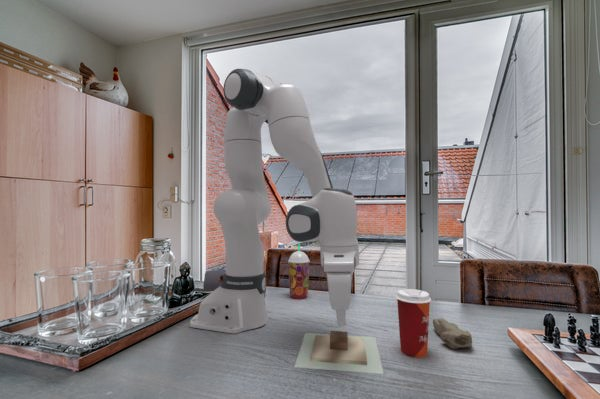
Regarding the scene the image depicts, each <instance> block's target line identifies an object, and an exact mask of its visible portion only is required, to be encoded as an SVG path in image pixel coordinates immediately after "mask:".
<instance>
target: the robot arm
mask: <svg viewBox="0 0 600 399" xmlns="http://www.w3.org/2000/svg"><path fill="white" fill-rule="evenodd" d="M222 88H223V96H224V99H225V101H226V103H227V104H228V105H230V106H231V107H232V108H231V109H229V110H228V112H227V113H226V116H225V122H224V131H223V134H224V135H223V142H224V144H223V146H224V148H223V149H224V170H225V172H226V174H227V175H228V178H229V181H230V184H231V188H230V189H228V190H227V189H226V190H224V191H222V192H221V193H219V194H218V195H217V197H216V198H215V200H214V203H213V214H214V217H215V218H216V219H217V221H218V222H219V225H220V226H221V231H222V235H223V239H224V245H225V246H224V247H225V270H226V272H224V273H223V275H221V276H220V277H219V278H218V279H219V280H218V281H217V282H219V281H220V286H219V287H218V288H217V289H215V290H214V291H213V292H212V293H210V294H207V296H205V297H204V298H203V299H202V301H201V302H200V304H199V308H198V313H197V314H195V315H194V316H193V317H192V318H191V319H190V321H189V327H190V328H196V329H202V330H207V331H215V332H220V333H225V334H226V333H227V334H239V333H242V332H245V331H249V330H252V329H258V328H260V327H263V326H265V325H266V324H268V322H269V320H270V318H269V316H268V311H267V306H266V299H265V293H264V292H265V273H264V271H265V268H264V261H265V260H264V256H265V255H264V253H265V252H264V249H265V247H264V244H263V241H262V240H261V235H260V230H259V225H260V224H261V223H263V222H264V221H266V220H267V218H268V217H269V216H270V214H271V212H272V204H271V201H270V199H269V195H268V189H267V184H266V180H265V175H264V169H263V168H264V167H263V148H262V147H263V146H262V126H263V124H264V123H266V124H267V126H268V132H269V138H270V141H271V144H272V146H273V149H274V151H275V152H276V154H277V155H279V156H280V157H281V158H282V159H284V160H285V161H287V162H288V163H290V164H292V165H293V166H295V167H297V168H298V169H299V170H300V171H301V172H302V174H303V175H304V176H305V178H306V181H307V183H308V187H309V190H310V193H311V197H312V198H310V199H307V201H306V200H305V201H304V202H300V203H299V204H296V205H293V206H292V207H291V208H289V209H288V212H287V214H286V217H285V228H286V231H287V233H288V235H289V237H290V238H291V239H292V240H293V241H295V242H299V243H311V242H319V243H320V244H319V245H320V246H319V249H320V265H321V266H322V268H323V272H325V273H326V283H327V289H328V290H327V291H328V296H329V302H330V307H331V309H332V310H333V311H335V314H336V325H337V326H338V327H346V324H347V323H346V320H347V319H346V317H347V316H346V315H347V314H346V313H347V311H349V309H350V305H351V294H352V280H353V274H354V272H355V270H356V268H357V266H359V265H360V255H359V254H360V252H359V249H360V248H359V241H358V240H359V239H358V238H357V230H358V225H359V224H358V213H357V212H358V211H357V205H356V204H357V202H356V198H355V196H354V194H353V192H351V191H350V190H347V189H344V188H343V189H342V188H334V186H333V184H332V180H331V178H330V174H329V170H328V168H327V165H326V162H325V159H324V156H323V154H322V153H321V150H320V148H319V146H318V144H317V141H316V139H315V135H314V132H313V128H312V124H311V120H310V116H309V112H308V111H309V110H308V108H307V104H306V102H305V100H304V97H303V95H302V92H301V90H300V89H299V88H298V87H297V86H296V85H294V84H291V83H281V82H279V81H277V80H275V79H273V78H272V77H269V76H268V75H263V74H260V73H257V72H253V71H251V70H249V69H246V68H235V69H233V70H232V71H230V72H229V74H228V75H226V78H225V80H224V83H223V87H222Z"/></svg>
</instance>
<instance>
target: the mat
mask: <svg viewBox="0 0 600 399" xmlns="http://www.w3.org/2000/svg"><path fill="white" fill-rule="evenodd" d="M315 335H322V336H330V334H327V333H313V332H312V333H311V332H309V333H308V332H305V333H304V336H303V339H302V341H301V346H300V347H299V352H298V354H297V356H296V360H295V363H294V368H296V369H297V368H300V369H312V370H326V371H340V372H352V373H366V374H378V375H384V371H383V370H384V369H383V365H382V362H381V357H380V352H379V347H378V343H377V339H376V337H375V336H361V335H348V337H355V338H364V343H365V350H366V357H367V365H357V364H343V363H329V362H316V361H310V356H311V352H312V348H313V344H314V340H315Z"/></svg>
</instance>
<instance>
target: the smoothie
mask: <svg viewBox="0 0 600 399" xmlns="http://www.w3.org/2000/svg"><path fill="white" fill-rule="evenodd" d="M300 248H301V244H300V243H298V244H297V251H294V252H292V254H291V255H290V256H289V259H288V260H287V265H288V266H287V268H288V282H289V283H288V284H289V294H290V296H291V298H292V299H295V300H300V299H301V300H302V299H306V298H307V295H308V293H309V279H310V278H309V277H310V265H311V264H310V263H311V260H310V259H309V256H308V255H307V253H305V252H304V251H301V250H300Z"/></svg>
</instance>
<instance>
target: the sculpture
mask: <svg viewBox="0 0 600 399" xmlns="http://www.w3.org/2000/svg"><path fill="white" fill-rule="evenodd" d="M432 325H433V329H434V330H435V333H436V334H438V335H439V336H440V340H441V342H443V343H444V344H445V345H447V346H448V348H451V349H452V350H458V349H461V348H463V349H464V348H468V349H471V348H472V347H473V338H472V337H473V336H472V334H471V332H470V331H468V330H466V331H465V330H462V329H461V328H460V327H459V326H458V325H457V324H455V323H454V322H449V321H448V320H446V319H445V318H443V317H439V318H434V319H433V320H432Z"/></svg>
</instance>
